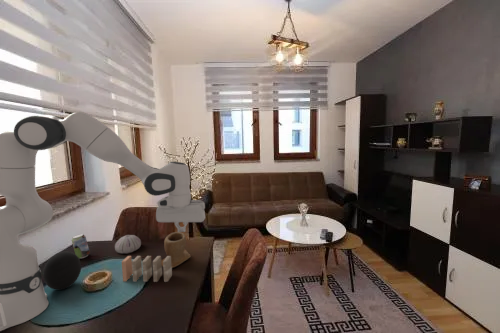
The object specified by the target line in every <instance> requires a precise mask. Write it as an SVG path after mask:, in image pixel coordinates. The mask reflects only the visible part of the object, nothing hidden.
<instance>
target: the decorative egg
mask: <svg viewBox="0 0 500 333" xmlns="http://www.w3.org/2000/svg"><path fill="white" fill-rule="evenodd" d="M81 270H82V263H81V261H80V259H79V258H78V257H77V255H76V254H75V252H72V251H67V250H66V251H65V250H64V251H60V252H58V253H55V254H54V255H52V256H51V257H50V258H49V259H48V260H47V262H46V263H45V265H44V268H43V272H42V277H43V281H44V283H45V284H46V286H47V287H49V288H50V289H52V290H58V291H59V290H61V291H62V290H64V289H68V288H69V287H71V286H72V285H73V284H74V283H75V282H76V281H77V280H78V279H79V276H80V274H81Z"/></svg>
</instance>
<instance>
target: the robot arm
mask: <svg viewBox="0 0 500 333" xmlns="http://www.w3.org/2000/svg"><path fill="white" fill-rule="evenodd" d="M67 142H72V143H74V144H76V145H77V146H79V147H80V148H82V149H83V150H84V151H86V152H87V153H89V154H91V155H92V156H94V157H95V158H98V159H100V160H101V161H104V162H107V163H114V164H117V165H120V166H121V167H123V168H125V169H126V170H128V171H129V172H131V173H132V174H133V175H134V176H136V177H138V178H139V180H140V181H141V183H142V184H143V187H144V189H145V191H146V193H148V195H151V196H163V195H165V194H168V196H165V197H162V198H160V199H159V200H157V208H156V212H155V220H156V222H158V223H174V226H175V228H176V229H177V232H181V233H186V227H187V225H188V224H189V223H203V222H204V220H205V219H206V212H205V209H206V203H205V201H203V200H201V199H192V194H191V189H190V184H191V176H190V174H191V172H190V169H189V166H188V165H187V164H186V163H184V162H179V161H169V162H168V163H167V164H165V165H164V166H163V167H161V168H157V167H153V166H150V165H149V164H147V163H146V162H144V161H143V160H142V159H140V158H139V157H138V156H136V155H135V154H134V153H133V152H132V151H131V150H130V148H128V146H127V145H126V143H125V142H124V141H123V140H122V138H121V137H120V136H119V135H118V134H117V133H116V132H115V131H114V130H112V129H111V128H110V127H108V126H107V125H106V124H104V123H103V122H102V121H100V120H99V119H97V118H95V117H94V116H92V115H90V114H88V113H86V112H84V111H76V112H73V113H70V114H69V115H67V117H65V118H63V117H60V116H57V115H51V114H50V115H49V114H38V115H30V116H26V117H24V118H21V119H20V120H19V121H18V122H17V123H16V124H15V126H14V128H13V130H9V131H8V130H7V131H2V132H0V196H2V197H4V198H5V202H6V203H5V205H3V206H0V332H2V331H5V330H6V329H9V328H11V327H14V326H17V325H20V324H21V325H22V324H23V323H25V322H28V321H29V320H33V319H34V318H35V317H37V316H39V315H40V314H42V313H43V312H44V311H45V310H46V309H47V308H48V306H49V300H48V294H47V293H46V292H45V287H44V284H43V281H42V271H41V268H40V267H39V261H38V252H37V249H36V248H35V247H34V246H32V245H29V244H25V243H21V242H20V239H19V236H20V235H22V234H23V235H24V234H26V233H28V232H29V233H30V232H31V231H34V230H37V229H39V228H41V227H43V226H44V225H46V224H47V223H49V222H50V221H51V220H52V219H53V216H54V211H53V210H54V209H53V207H52V205H51V204H50V203H49V202H48V201H47V200H44V199H43V198H41V197H40V195H39V194H38V191H37V189H36V163H37V162H36V157H37V153H38V151H45V150H50V149H54V148H57V147H59V146H61V145H64V144H65V143H67ZM180 223H182V224H183V226H180V225H181V224H180Z"/></svg>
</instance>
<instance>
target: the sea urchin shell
mask: <svg viewBox="0 0 500 333" xmlns="http://www.w3.org/2000/svg"><path fill="white" fill-rule="evenodd" d="M141 245H142V240H141V239H140V237H139V236H138V235H137V236H136V235H135V234H126V235H124V236H121V237H120V238H119V239H118V240H117V241H116V242H115V244H114V250H115V252H116V253H117V254H123V255H124V254H130V253H133V252H135V251H137V250H138V249H140V247H141Z"/></svg>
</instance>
